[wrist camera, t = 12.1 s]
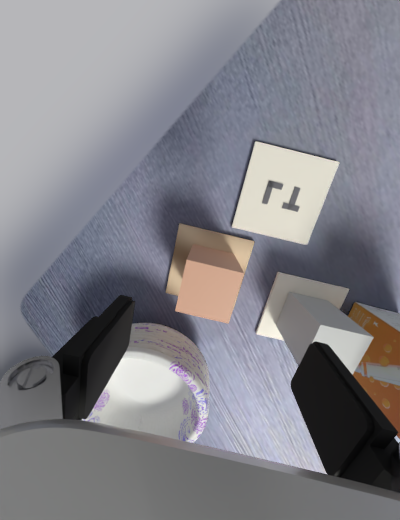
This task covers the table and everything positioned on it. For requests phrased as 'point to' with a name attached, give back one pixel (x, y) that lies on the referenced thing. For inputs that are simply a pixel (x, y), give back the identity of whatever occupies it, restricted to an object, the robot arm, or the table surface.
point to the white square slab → (283, 193)
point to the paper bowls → (157, 386)
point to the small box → (380, 359)
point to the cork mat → (207, 239)
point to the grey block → (321, 329)
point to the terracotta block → (209, 284)
